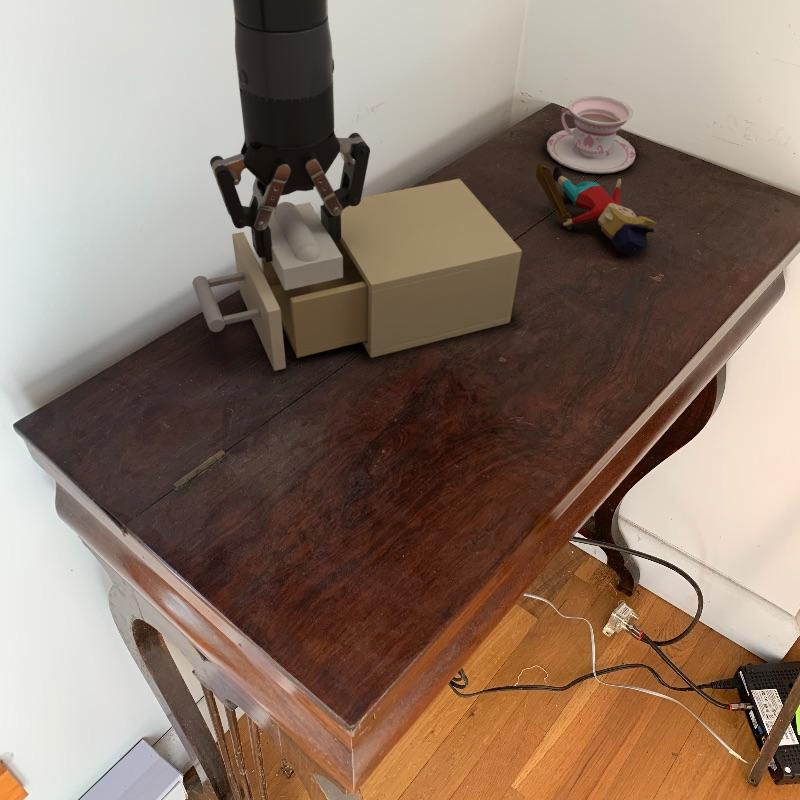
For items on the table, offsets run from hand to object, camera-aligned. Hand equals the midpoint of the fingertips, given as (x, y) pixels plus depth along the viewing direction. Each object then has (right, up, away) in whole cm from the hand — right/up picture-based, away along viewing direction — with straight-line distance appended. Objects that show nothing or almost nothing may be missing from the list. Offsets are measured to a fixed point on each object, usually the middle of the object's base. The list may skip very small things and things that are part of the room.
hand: (297, 250), depth 76 cm
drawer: (0, -6, +6) cm, 8 cm away
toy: (+32, +6, +21) cm, 39 cm away
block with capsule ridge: (0, 0, 0) cm, 1 cm away
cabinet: (+11, -3, +10) cm, 16 cm away
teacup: (+36, +19, +34) cm, 53 cm away
